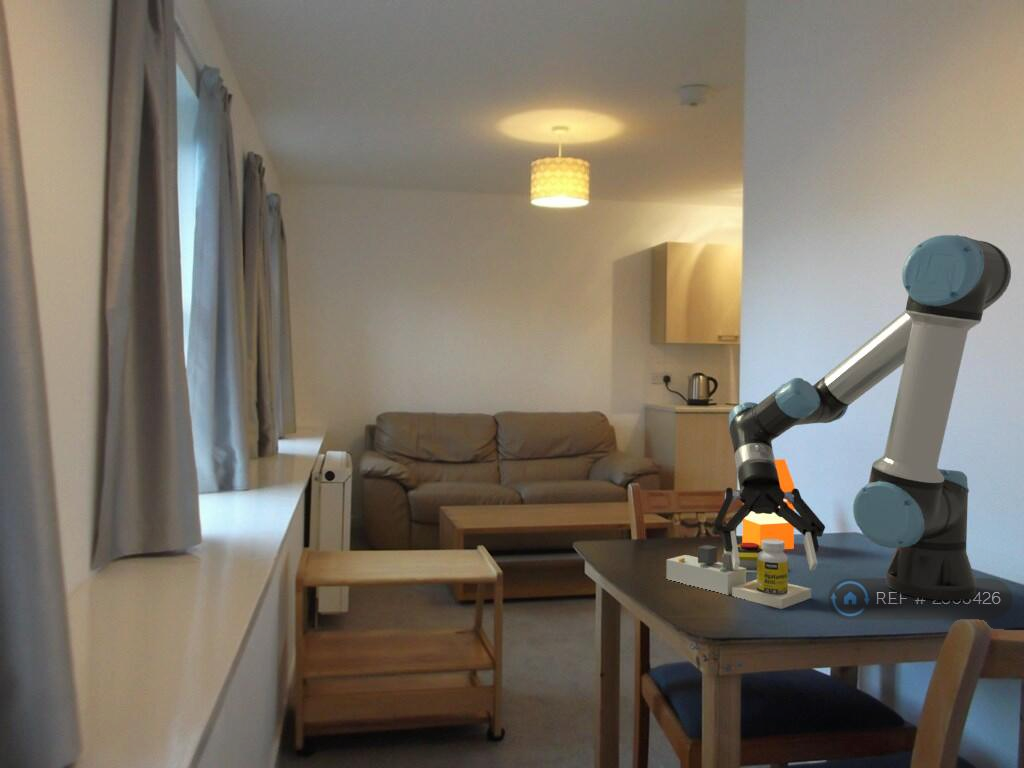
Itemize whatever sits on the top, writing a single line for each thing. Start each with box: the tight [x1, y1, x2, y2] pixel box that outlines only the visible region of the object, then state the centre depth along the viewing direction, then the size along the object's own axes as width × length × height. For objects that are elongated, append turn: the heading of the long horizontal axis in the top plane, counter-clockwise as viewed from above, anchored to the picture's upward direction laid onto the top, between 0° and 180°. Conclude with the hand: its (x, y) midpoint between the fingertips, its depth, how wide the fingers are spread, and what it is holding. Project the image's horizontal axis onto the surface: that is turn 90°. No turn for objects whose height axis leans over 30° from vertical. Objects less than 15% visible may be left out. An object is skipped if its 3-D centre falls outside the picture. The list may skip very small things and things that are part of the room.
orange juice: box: [741, 458, 796, 550], centre depth 194 cm, size 8×9×20 cm
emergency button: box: [721, 542, 763, 574], centre depth 178 cm, size 9×4×15 cm
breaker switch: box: [697, 544, 718, 565], centre depth 161 cm, size 2×3×3 cm
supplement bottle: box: [756, 539, 789, 596], centre depth 153 cm, size 5×5×10 cm
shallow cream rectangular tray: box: [731, 579, 812, 610], centre depth 153 cm, size 10×10×2 cm
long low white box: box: [666, 552, 747, 596], centre depth 162 cm, size 14×6×7 cm, turn 41°
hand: (775, 566), depth 151 cm, fingers open, 13 cm apart
